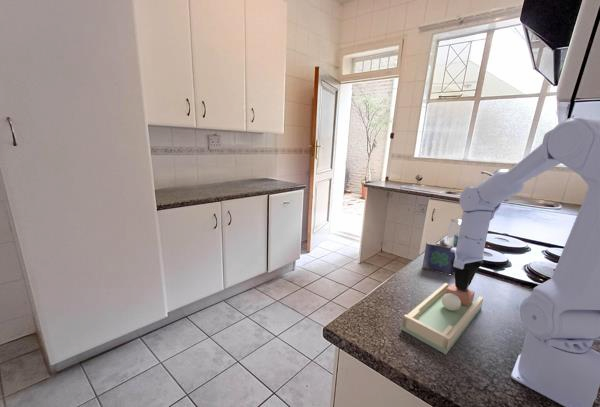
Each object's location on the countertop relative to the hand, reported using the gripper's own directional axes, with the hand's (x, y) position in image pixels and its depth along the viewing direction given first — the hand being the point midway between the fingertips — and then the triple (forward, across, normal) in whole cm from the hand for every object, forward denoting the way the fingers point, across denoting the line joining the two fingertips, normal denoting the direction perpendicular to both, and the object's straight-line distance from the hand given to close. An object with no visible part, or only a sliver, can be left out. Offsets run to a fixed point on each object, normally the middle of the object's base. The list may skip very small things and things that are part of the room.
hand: (462, 286), depth 68 cm
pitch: (+5, +10, 0) cm, 11 cm away
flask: (+5, -15, -11) cm, 19 cm away
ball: (+2, +7, 0) cm, 7 cm away
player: (+3, +1, 0) cm, 3 cm away
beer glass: (+5, -27, -10) cm, 29 cm away
